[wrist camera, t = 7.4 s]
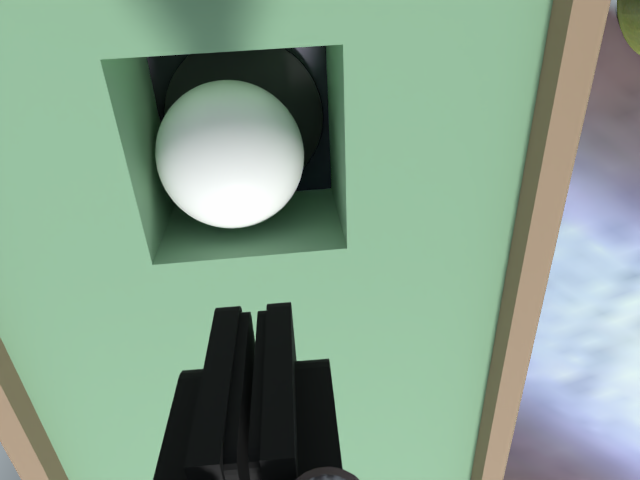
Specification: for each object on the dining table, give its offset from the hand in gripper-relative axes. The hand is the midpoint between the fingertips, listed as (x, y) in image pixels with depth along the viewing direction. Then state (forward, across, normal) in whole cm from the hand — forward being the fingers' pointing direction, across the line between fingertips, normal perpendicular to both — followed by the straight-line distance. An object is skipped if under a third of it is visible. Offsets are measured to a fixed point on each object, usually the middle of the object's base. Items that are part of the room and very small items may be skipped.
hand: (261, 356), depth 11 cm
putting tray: (+11, +1, +4) cm, 12 cm away
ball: (+8, +1, -2) cm, 8 cm away
